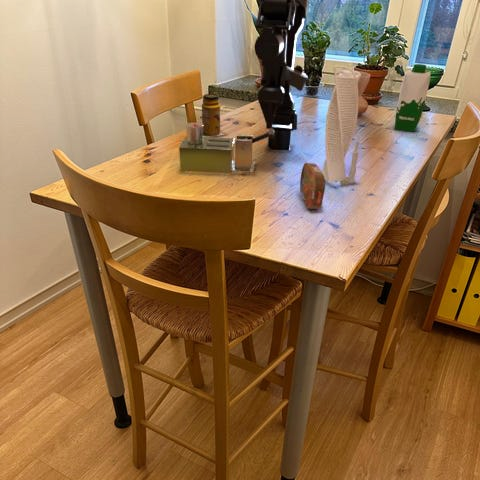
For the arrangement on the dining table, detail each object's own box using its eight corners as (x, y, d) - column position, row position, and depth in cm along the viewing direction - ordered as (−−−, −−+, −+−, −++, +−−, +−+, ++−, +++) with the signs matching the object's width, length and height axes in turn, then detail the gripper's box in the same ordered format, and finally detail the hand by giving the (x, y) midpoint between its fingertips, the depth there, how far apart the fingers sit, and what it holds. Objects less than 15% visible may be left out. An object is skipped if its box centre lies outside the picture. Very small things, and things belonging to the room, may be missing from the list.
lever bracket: (254, 165, 134) (255, 133, 128) (253, 175, 127) (254, 142, 122) (234, 164, 134) (234, 132, 129) (231, 174, 128) (231, 141, 122)
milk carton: (419, 127, 169) (434, 65, 156) (416, 133, 162) (432, 69, 150) (394, 124, 171) (407, 63, 159) (391, 130, 165) (404, 67, 152)
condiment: (225, 135, 156) (225, 96, 149) (203, 138, 152) (202, 99, 145) (214, 129, 161) (213, 91, 154) (192, 133, 157) (191, 94, 150)
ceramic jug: (335, 106, 190) (340, 67, 181) (370, 111, 185) (377, 71, 176) (322, 117, 177) (327, 75, 168) (360, 122, 172) (367, 80, 163)
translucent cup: (184, 140, 128) (183, 122, 125) (199, 138, 129) (198, 120, 126) (190, 145, 125) (189, 126, 122) (205, 143, 126) (205, 124, 123)
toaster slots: (230, 140, 129) (230, 140, 129) (228, 146, 124) (228, 146, 124) (209, 139, 129) (208, 139, 129) (206, 145, 125) (206, 145, 125)
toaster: (234, 163, 135) (234, 137, 130) (231, 175, 127) (231, 149, 123) (184, 160, 136) (182, 135, 131) (177, 172, 128) (176, 146, 123)
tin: (298, 190, 120) (301, 157, 115) (310, 189, 120) (314, 157, 115) (310, 215, 108) (314, 180, 103) (323, 215, 108) (328, 180, 103)
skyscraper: (328, 188, 121) (345, 68, 104) (312, 177, 127) (326, 62, 110) (355, 183, 124) (376, 66, 107) (338, 173, 130) (355, 60, 113)
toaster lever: (275, 133, 127) (272, 124, 126) (274, 140, 122) (271, 131, 121) (241, 146, 130) (238, 138, 129) (240, 153, 125) (236, 145, 124)
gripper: (308, 63, 105) (301, 134, 115) (306, 50, 120) (300, 114, 129) (259, 61, 106) (256, 132, 115) (263, 49, 120) (260, 112, 130)
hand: (270, 122), depth 122 cm, fingers open, 9 cm apart
